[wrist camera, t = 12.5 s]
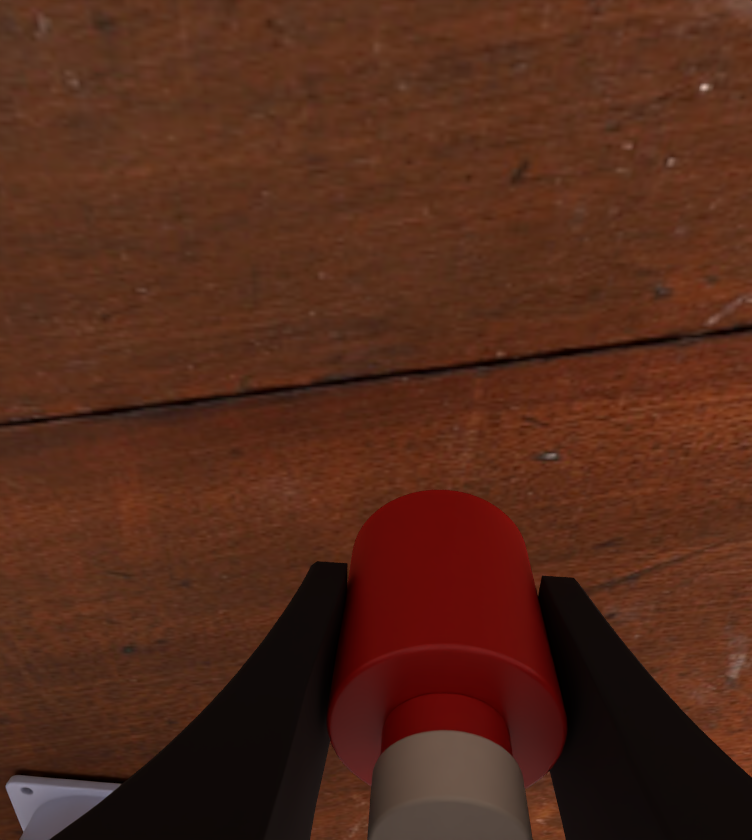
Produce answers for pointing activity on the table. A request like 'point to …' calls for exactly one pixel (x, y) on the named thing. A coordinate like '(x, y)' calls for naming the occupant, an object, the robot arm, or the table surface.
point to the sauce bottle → (444, 672)
